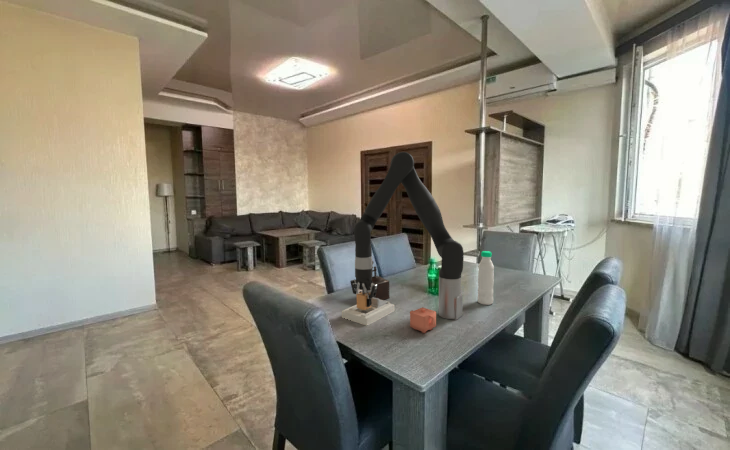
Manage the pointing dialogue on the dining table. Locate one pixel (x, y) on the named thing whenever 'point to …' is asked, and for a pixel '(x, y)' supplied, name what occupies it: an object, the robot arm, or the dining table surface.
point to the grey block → (377, 302)
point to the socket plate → (367, 313)
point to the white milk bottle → (485, 279)
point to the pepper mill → (380, 286)
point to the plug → (362, 301)
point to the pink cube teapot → (423, 319)
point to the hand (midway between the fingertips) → (364, 305)
